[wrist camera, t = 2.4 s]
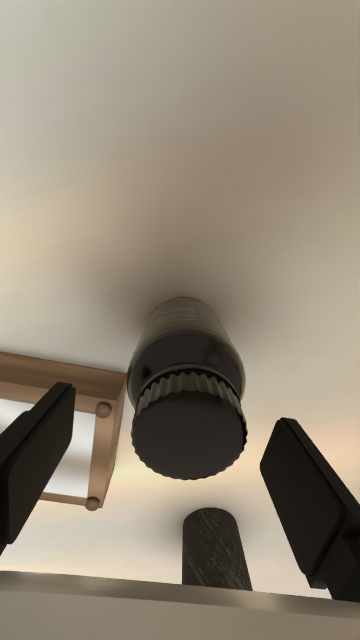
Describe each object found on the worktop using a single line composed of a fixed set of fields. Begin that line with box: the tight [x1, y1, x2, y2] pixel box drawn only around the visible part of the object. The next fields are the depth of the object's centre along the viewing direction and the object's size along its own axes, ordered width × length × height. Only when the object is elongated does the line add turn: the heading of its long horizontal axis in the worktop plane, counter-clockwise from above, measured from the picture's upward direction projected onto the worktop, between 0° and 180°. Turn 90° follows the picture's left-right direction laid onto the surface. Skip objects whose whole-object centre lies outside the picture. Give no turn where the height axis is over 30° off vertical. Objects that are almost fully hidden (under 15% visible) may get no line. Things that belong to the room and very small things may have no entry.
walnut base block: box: [0, 352, 127, 511], centre depth 21 cm, size 13×13×4 cm
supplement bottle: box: [126, 298, 248, 480], centre depth 14 cm, size 7×7×12 cm
